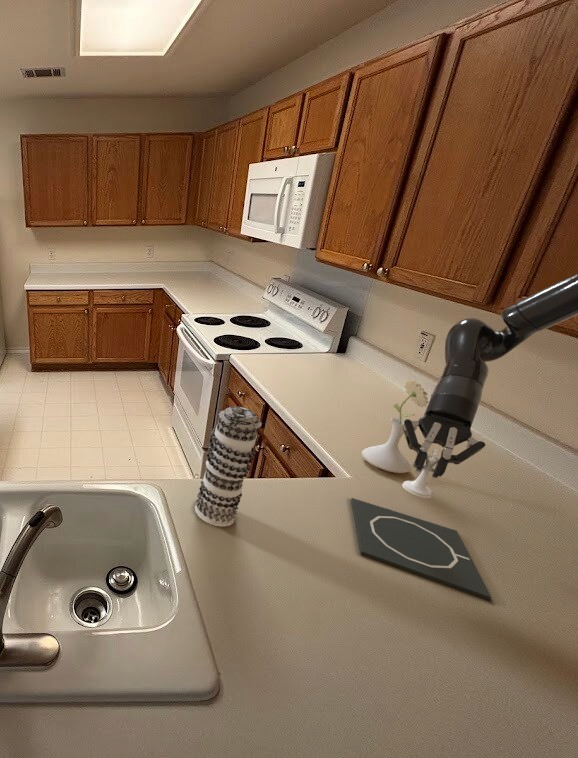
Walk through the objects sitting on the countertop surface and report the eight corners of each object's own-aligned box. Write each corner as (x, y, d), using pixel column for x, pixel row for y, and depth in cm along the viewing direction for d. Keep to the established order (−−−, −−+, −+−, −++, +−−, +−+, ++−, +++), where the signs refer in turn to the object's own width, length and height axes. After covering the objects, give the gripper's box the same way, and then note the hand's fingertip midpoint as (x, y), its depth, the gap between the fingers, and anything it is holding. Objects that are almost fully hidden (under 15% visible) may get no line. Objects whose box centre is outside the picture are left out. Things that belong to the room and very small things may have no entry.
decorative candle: (203, 494, 96) (227, 397, 87) (242, 513, 91) (272, 413, 82) (185, 512, 90) (209, 410, 80) (226, 534, 84) (257, 427, 75)
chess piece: (429, 489, 87) (449, 449, 83) (432, 501, 83) (455, 459, 79) (400, 480, 89) (419, 440, 85) (403, 491, 85) (423, 450, 81)
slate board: (455, 533, 91) (456, 530, 90) (489, 600, 74) (491, 597, 74) (350, 500, 99) (352, 497, 98) (360, 554, 82) (361, 550, 82)
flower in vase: (413, 482, 109) (453, 396, 99) (363, 468, 113) (397, 385, 104) (400, 459, 120) (436, 380, 111) (355, 447, 124) (386, 370, 115)
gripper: (417, 383, 88) (388, 452, 84) (505, 405, 79) (478, 483, 75) (409, 399, 93) (382, 464, 89) (491, 421, 85) (465, 495, 81)
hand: (427, 473), depth 82 cm, fingers closed on chess piece
